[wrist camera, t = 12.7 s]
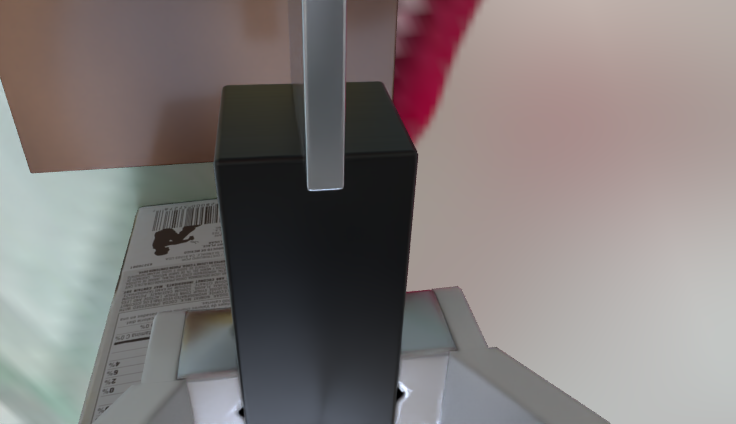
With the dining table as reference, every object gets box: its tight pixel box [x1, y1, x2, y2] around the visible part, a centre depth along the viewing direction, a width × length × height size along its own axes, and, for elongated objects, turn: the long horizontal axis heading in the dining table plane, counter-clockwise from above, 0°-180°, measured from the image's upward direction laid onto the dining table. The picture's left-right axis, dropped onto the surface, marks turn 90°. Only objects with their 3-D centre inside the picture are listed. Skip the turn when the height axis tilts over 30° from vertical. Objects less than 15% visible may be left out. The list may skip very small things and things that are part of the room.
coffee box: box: [78, 199, 231, 424], centre depth 25 cm, size 9×6×16 cm
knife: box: [213, 0, 418, 424], centre depth 8 cm, size 2×17×3 cm, turn 178°
